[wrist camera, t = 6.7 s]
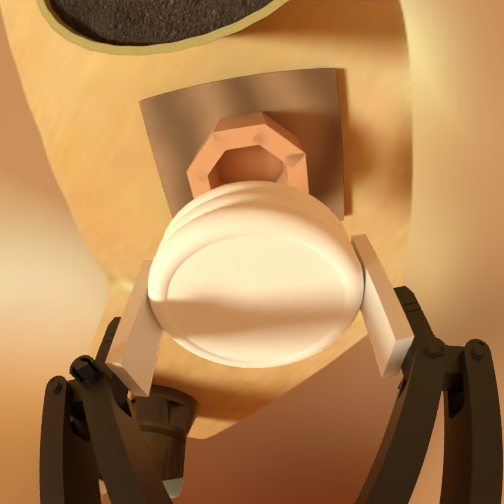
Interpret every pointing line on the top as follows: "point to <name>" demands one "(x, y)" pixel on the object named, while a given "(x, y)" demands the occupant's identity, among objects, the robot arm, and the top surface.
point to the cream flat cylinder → (255, 276)
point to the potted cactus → (150, 22)
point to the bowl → (248, 155)
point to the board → (244, 102)
